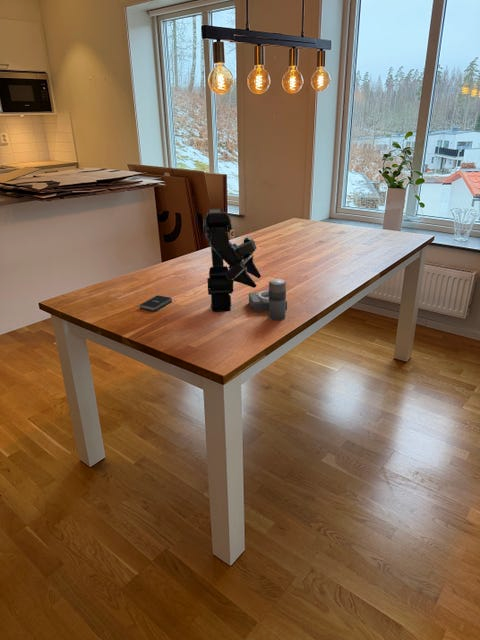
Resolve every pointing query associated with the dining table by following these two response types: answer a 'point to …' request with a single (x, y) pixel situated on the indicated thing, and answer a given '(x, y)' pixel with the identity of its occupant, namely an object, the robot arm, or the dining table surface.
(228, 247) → the robot arm
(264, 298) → the camera body
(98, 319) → the dining table surface
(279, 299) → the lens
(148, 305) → the external hard drive
